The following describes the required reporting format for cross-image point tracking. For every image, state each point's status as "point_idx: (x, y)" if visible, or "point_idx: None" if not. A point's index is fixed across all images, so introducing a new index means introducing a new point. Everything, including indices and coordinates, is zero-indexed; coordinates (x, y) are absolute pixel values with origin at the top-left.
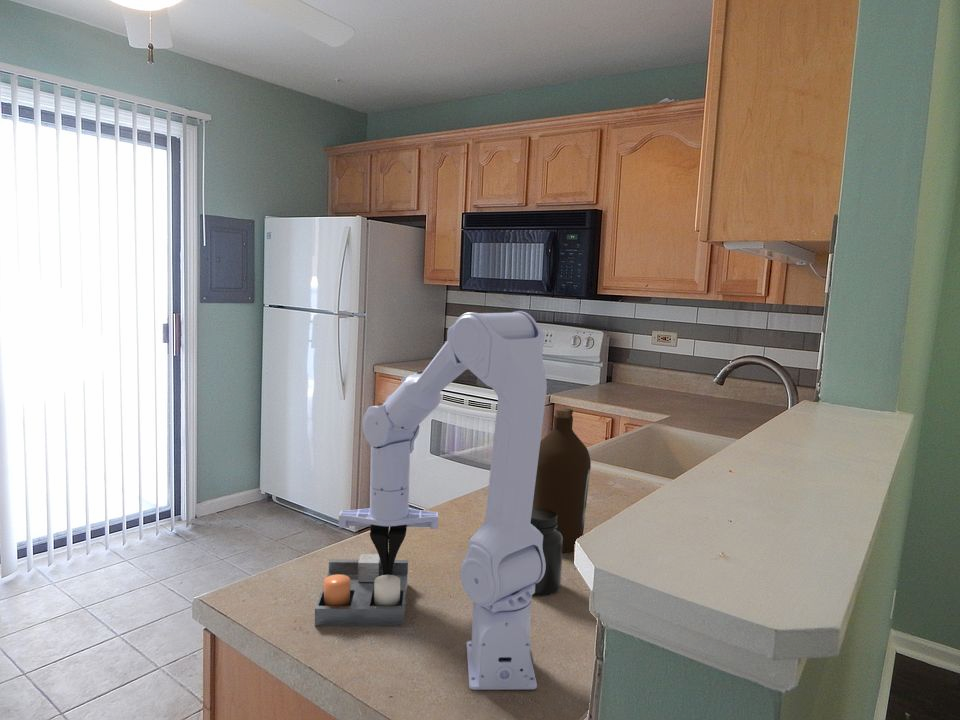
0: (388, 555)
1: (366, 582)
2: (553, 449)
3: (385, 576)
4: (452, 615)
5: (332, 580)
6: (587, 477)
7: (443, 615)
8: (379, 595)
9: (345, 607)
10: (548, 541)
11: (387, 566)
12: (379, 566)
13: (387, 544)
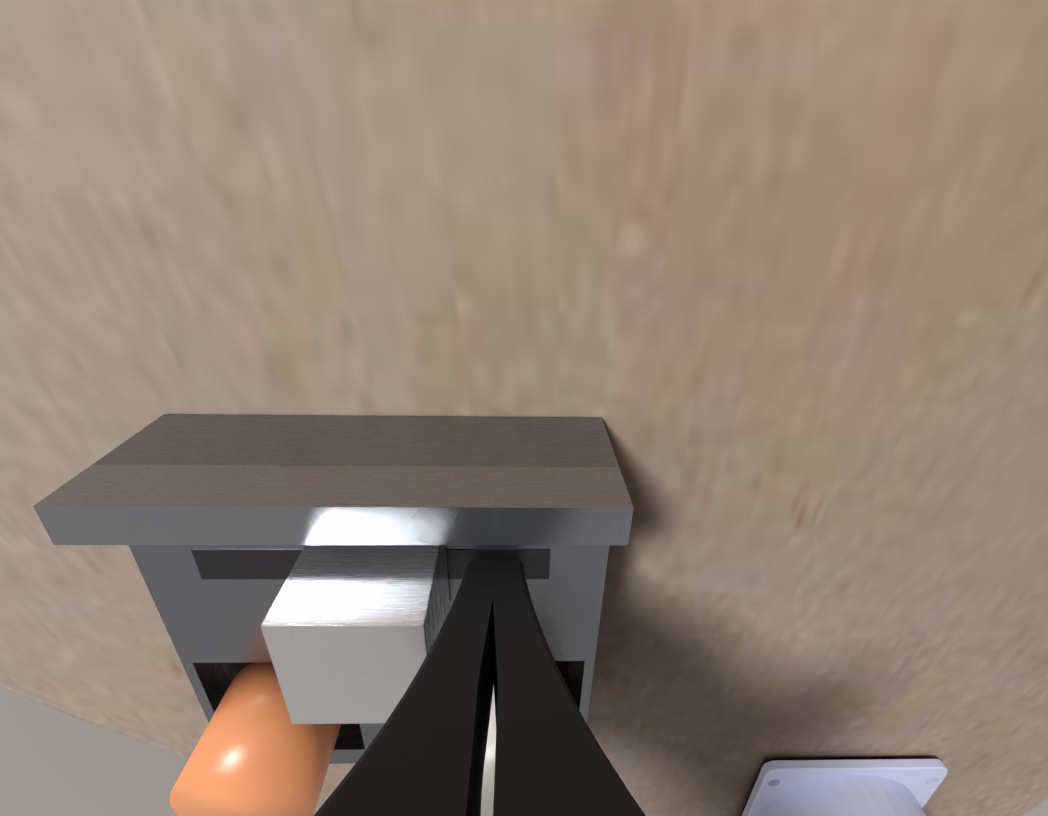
0: (488, 631)
1: None
2: None
3: (494, 777)
4: (764, 637)
5: (218, 809)
6: None
7: (729, 637)
8: None
9: (347, 758)
10: None
11: (493, 682)
12: (437, 631)
13: (476, 799)
